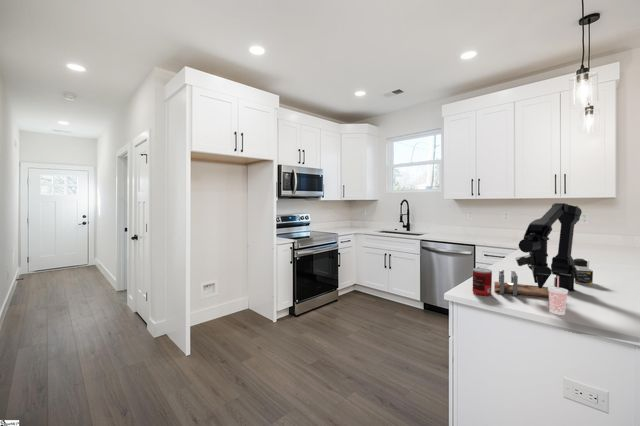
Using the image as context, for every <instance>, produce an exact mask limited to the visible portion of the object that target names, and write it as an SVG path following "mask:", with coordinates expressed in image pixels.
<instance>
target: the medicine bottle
mask: <svg viewBox="0 0 640 426" xmlns="http://www.w3.org/2000/svg"><path fill="white" fill-rule="evenodd" d="M573 260H574V262H575V267H576V269H577V271H578V272H579V274H578V278H574V284H579V285H580V284H581V285H589V286H590V285H591V286H592V285H593V283H594V282H593V277H594V271H593V270H592V269H590V261H589V260H588V259H586V258H573Z"/></svg>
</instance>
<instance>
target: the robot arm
mask: <svg viewBox="0 0 640 426" xmlns="http://www.w3.org/2000/svg"><path fill="white" fill-rule="evenodd" d="M582 212H583V211H582V209H581V208H580V207H579V206H577V205H571V204H568V203H565V202H564V203H560V202H557V203H556V202H554V203H553V204H552V205H551V207H550V209H548V210H547V212H545V214H544V215H542V217H540V218H537V219H534V220H533V221H531V222H530V223H529V224H528V226H527V228H526V231H525V233H524V234H523V239H521V240H520V241H519V243H518V248H519V250H520V251H521V252H523V253H527V255H522V256H517V257H516V258H515V261H516V263H517V266H518V267H523V266H525V265H527V267H528V268H529V269H530V270H531V272H532V276H533V280H534V284H537V286H538V288H542V287H544V285H545V284H546V282H547V280H548V279H549V278H550V276H552V275H553V276H554V275H555V277H553V279H554V281H553V283H554V284H553V287H557V276H559V288H564V289H567V290H568V292H570V291H571V292H575V291H576V290H575V283H574V278H578V274H579V272H578V271H577V269H576V267H575V262H574V258H573V256H572V251H573V249H572V247H573V242H574V241H573V239H574V231H575V225H576V224H577V223H578V222H579V221H580V220H581V219H580V217H581V215H582ZM557 220H558V221H559V223H560V232H559V240H558V241H559V242H558V248H557V249H558V251H557V254H556V255H555V256H553V257H552V258H551V263H550V267H549V266H548V265H549V264H548V261H547V260H548V257H549V254H548V241H549V240H550V238H549V235H550V234H551V232H552V230H553V228H552V226H553V225H554V223H556V221H557ZM528 253H529V254H528Z"/></svg>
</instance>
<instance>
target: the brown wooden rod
mask: <svg viewBox="0 0 640 426" xmlns="http://www.w3.org/2000/svg"><path fill="white" fill-rule="evenodd" d="M493 283H494V284H493V285H494V286H493V288H494V289H493V290H494V292H499V293H500V282H499V281H493ZM548 287H549V286H543V287H542V288H538V285H531V284H530V285H529V284H521V283H517V295H523V296H532V297H533V296H534V297H542V298H549V291H548ZM504 293H508V294H509V293H510V294H513V283H511V282H504Z"/></svg>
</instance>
